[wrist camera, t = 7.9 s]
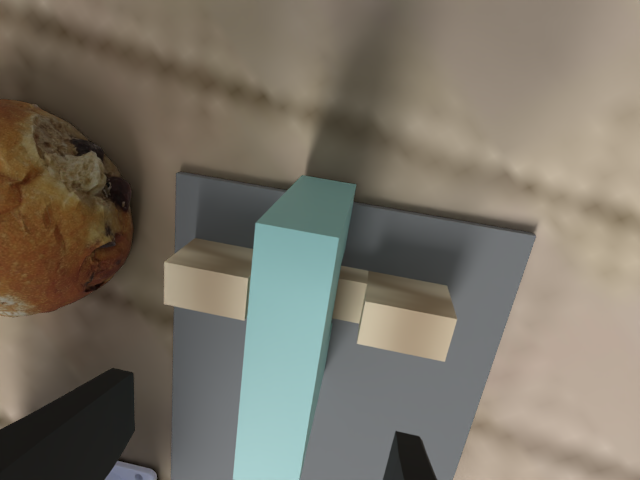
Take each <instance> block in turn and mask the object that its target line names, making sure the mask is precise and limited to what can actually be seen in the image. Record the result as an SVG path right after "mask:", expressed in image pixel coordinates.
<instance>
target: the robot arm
mask: <svg viewBox="0 0 640 480" xmlns="http://www.w3.org/2000/svg"><path fill="white" fill-rule="evenodd" d="M134 431H135V422H134V377H133V373H132V372H128V371H123V370H119V369H114V368H112V369H110V370H108V371H106V372H104V373H103V374H101V375H99V376H97V377H95V378H94V379H92V380H90V381H88V382H87V383H85V384H83V385H81V386H80V387H78V388H76V389H74V390H73V391H71V392H69V393H67V394H66V395H64V396H62V397H60V398H58V399H57V400H55V401H53V402H51V403H49V404H48V405H46V406H44V407H42V408H40V409H39V410H37V411H35V412H33V413H31V414H30V415H28V416H26V417H24V418H22V419H20V420H18V421H16V422H14V423H12V424H10V425H8V426H6V427H4V428H2V429H0V480H157V475H156V473H155V471H154V470H152V469H150V468H146V467H142V466H137V465H133V464H129V463H125V462H121V461H118V459H119V457H120V456H121V454H122V452H123V450H124V449H125V447H126V445H127V443H128V442H129V440H130V438H131V436H132V434H133V433H134ZM383 480H437V478H436V475H435V473H434V470H433V468H432V465H431V463H430V460H429V458H428V455H427V452H426V450H425V447H424V444H423V441H422V439H421V438H420V437H419V436H416V435H412V434H407V433H403V432H398V431H395V435H394V439H393V442H392V446H391V450H390V454H389V458H388V462H387V465H386V469H385V473H384V477H383Z"/></svg>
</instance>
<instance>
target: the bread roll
mask: <svg viewBox="0 0 640 480" xmlns="http://www.w3.org/2000/svg"><path fill="white" fill-rule="evenodd" d="M130 201H131V187H130V184H129V183H128V182H127V181H126V180H124V179H122V178H121V174H120V172H119V171H118V169H117V167H116V166H115V165H114V164H113V163H112V162H111V161H110V160H109V159H108V158H107V156H106V155H105V154H104V152H103V150H102V149H101V148H100V147H99V146H97V145H95V144H94V143H92V142H90V141H88V140H87V139H86V138H85V137H84V136H83V135H82V134H81V133H80V132H79V131H78V130H77V129H76V128H75V127H74V126H73V125H72V124H70V123H68V122H66V121H64V120H62V119H61V118H59V117H57V116H55V115H53V114H50V113H48V112H46V111H44V110H42V109H40V108H39V107H38V105H36V104H30V103H26V102H23V101H16V100H7V99H0V315H1V316H8V317H18V316H29V315H33V314H38V313H45V312H51V311H55V310H57V309H58V308H60V307H63V306H65V305H68V304H71V303H73V302H76V301H77V300H79V299H81V298H83V297H85V296H86V295H88V294H90V293H91V292H93V291H95V290H97V289H98V288H100V287H101V286H103V285H104V284H106V283H107V282H108V281H109V280H110V279H111V278H112V277H113V276H114V274H115V273H116V272H117V271H118V270H119V268H120V267H121V266H122V265H123V264H124V262H125V260H126V258H127V256H128V254H129V252H130V248H131V243H132V235H133V230H134V227H133V222H132V216H131V210H130V205H129V204H130Z"/></svg>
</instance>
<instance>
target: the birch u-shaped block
mask: <svg viewBox="0 0 640 480" xmlns="http://www.w3.org/2000/svg"><path fill="white" fill-rule="evenodd" d="M252 257H253V249H250V248H245V247H240V246H235V245H229V244H224V243H219V242H213V241H208V240H203V239H197V238H194V239H193V240H192V241H190V242H189V243H188V244H187V245H185V246H184V247H183V248H181V249H180V250H179V251H178V252H176V253H175V254H174V255H172V256H171V257H170V258H169V259H167V260H166V261H165V262H164V304H165V305H170V306H175V307H180V308H185V309H190V310H195V311H200V312H204V313H209V314H214V315H219V316H224V317H229V318H234V319H239V320H243V321H245V319H246V317H247V313H248V302H249V291H250V279H251V268H252ZM332 318H334V319H339V320H344V321H349V322H354V323H359V330H358V338H357V344H360V345H365V346H370V347H375V348H380V349H385V350H390V351H395V352H399V353H404V354H409V355H414V356H419V357H424V358H429V359H434V360H438V361H443V362H445V359H446V356H447V353H448V349H449V346H450V342H451V339H452V336H453V332H454V329H455V325H456V322H457V317H456V313H455V310H454V307H453V303H452V300H451V297H450V293H449V290H448V287H447V285H441V284H436V283H431V282H425V281H420V280H415V279H409V278H404V277H399V276H394V275H388V274H383V273H378V272H372V271H367V270H362V269H356V268H351V267H346V266H341V269H340V275H339V280H338V286H337V292H336V298H335V304H334V310H333V316H332Z"/></svg>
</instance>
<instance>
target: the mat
mask: <svg viewBox="0 0 640 480" xmlns="http://www.w3.org/2000/svg"><path fill="white" fill-rule="evenodd" d="M286 191H287V190H283V189H278V188H272V187H266V186H260V185H255V184H249V183H243V182H237V181H232V180H226V179H220V178H214V177H209V176H203V175H197V174H192V173H186V172H178V173H176V213H175V253H176V252H178V251H179V250H180V249H181V248H183V247H184V246H185V245H187V244H188V243H189V242H190V241H192V240H193V239H194V238H197V239H203V240H208V241H213V242H219V243H224V244H229V245H235V246H240V247H245V248H250V249H253V246H254V234H255V223H256V222H257V221H258V220H259V219H260V218H261V217H262V216H263V215H264V214H265V213H266V212H267V210H268V209H269V208H270V207H271V206H272V205H273V204H274V203H275V202H276V201H277V200H278V199H279V198H280V197H281V196H282V195H283V194H284V193H285V192H286ZM535 238H536V235H535V234H534V233H530V232H525V231H519V230H513V229H507V228H502V227H496V226H490V225H484V224H479V223H473V222H467V221H461V220H456V219H450V218H444V217H438V216H433V215H427V214H421V213H415V212H410V211H404V210H398V209H392V208H387V207H381V206H375V205H370V204H364V203H358V202H353V207H352V213H351V219H350V225H349V230H348V236H347V242H346V248H345V252H344V256H343V259H342V263H341V266H346V267H351V268H356V269H362V270H367V271H372V272H378V273H383V274H388V275H394V276H399V277H404V278H409V279H415V280H420V281H425V282H431V283H436V284H441V285H447V287H448V290H449V293H450V297H451V300H452V303H453V307H454V310H455V313H456V317H457V322H456V325H455V329H454V332H453V336H452V339H451V342H450V346H449V349H448V353H447V356H446V359H445V362H443V361H438V360H434V359H429V358H424V357H419V356H414V355H409V354H404V353H399V352H395V351H390V350H385V349H380V348H375V347H370V346H365V345H360V344H357V338H358V330H359V323H354V322H349V321H344V320H339V319H334V318H332V321H331V323H332V329H331V335H330V341H329V346H328V352H327V358H326V364H325V370H324V375H323V379H322V384H321V388H320V393H319V397H318V402H317V406H316V411H315V415H314V420H313V424H312V429H311V433H310V438H309V442H308V446H307V451H306V455H305V460H304V464H303V469H302V473H301V478H300V480H383V477H384V473H385V469H386V465H387V462H388V458H389V454H390V450H391V446H392V442H393V439H394V435H395V431H398V432H403V433H407V434H412V435H416V436H419V437H420V438H421V439H422V441H423V444H424V447H425V450H426V452H427V455H428V458H429V460H430V463H431V465H432V468H433V470H434V473H435V475H436V478H437V480H453V477H454V475H455V472H456V469H457V466H458V463H459V460H460V457H461V454H462V451H463V448H464V445H465V442H466V439H467V437H468V434H469V431H470V428H471V425H472V422H473V419H474V416H475V413H476V410H477V407H478V404H479V401H480V399H481V396H482V393H483V390H484V387H485V384H486V381H487V378H488V375H489V372H490V369H491V366H492V363H493V361H494V358H495V355H496V352H497V349H498V346H499V343H500V340H501V337H502V334H503V331H504V328H505V325H506V323H507V320H508V317H509V314H510V311H511V308H512V305H513V302H514V299H515V296H516V293H517V290H518V287H519V285H520V282H521V279H522V276H523V273H524V270H525V267H526V264H527V261H528V258H529V255H530V252H531V249H532V247H533V244H534V241H535ZM246 325H247V317H246V319H245V321H243V320H239V319H234V318H229V317H224V316H219V315H214V314H209V313H204V312H200V311H195V310H190V309H185V308H180V307H175V306H174V330H173V388H172V447H171V480H233V471H234V460H235V449H236V438H237V426H238V415H239V404H240V392H241V381H242V370H243V358H244V347H245V336H246Z"/></svg>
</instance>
